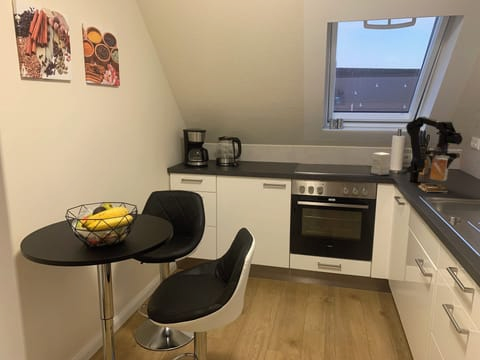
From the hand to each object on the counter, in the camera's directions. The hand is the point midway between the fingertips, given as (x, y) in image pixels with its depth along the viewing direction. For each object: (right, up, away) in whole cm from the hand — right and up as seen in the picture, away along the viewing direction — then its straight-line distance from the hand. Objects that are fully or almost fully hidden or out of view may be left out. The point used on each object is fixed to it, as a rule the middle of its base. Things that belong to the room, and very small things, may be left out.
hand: (439, 167), depth 230 cm
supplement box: (-21, -3, +44) cm, 49 cm away
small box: (0, -8, +2) cm, 8 cm away
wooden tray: (-6, -14, -2) cm, 15 cm away
